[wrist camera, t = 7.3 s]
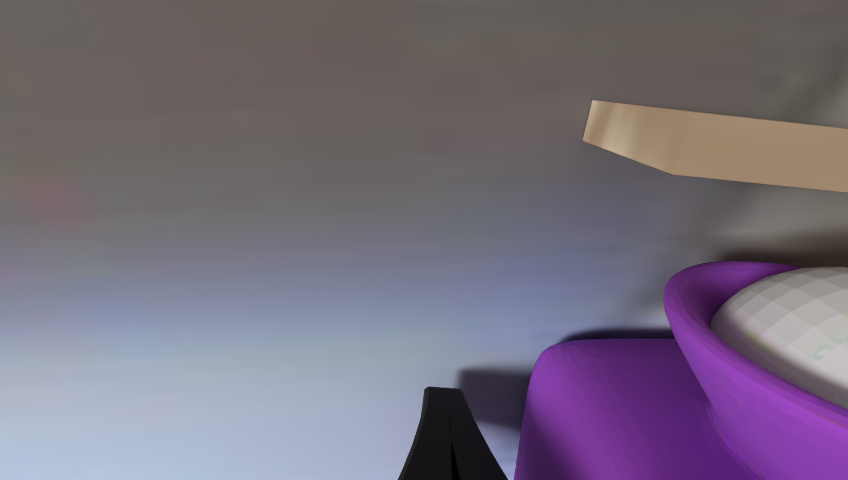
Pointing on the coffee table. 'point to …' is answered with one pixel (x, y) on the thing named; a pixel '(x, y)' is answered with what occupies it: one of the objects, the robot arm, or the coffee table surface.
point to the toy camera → (703, 386)
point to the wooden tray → (723, 145)
